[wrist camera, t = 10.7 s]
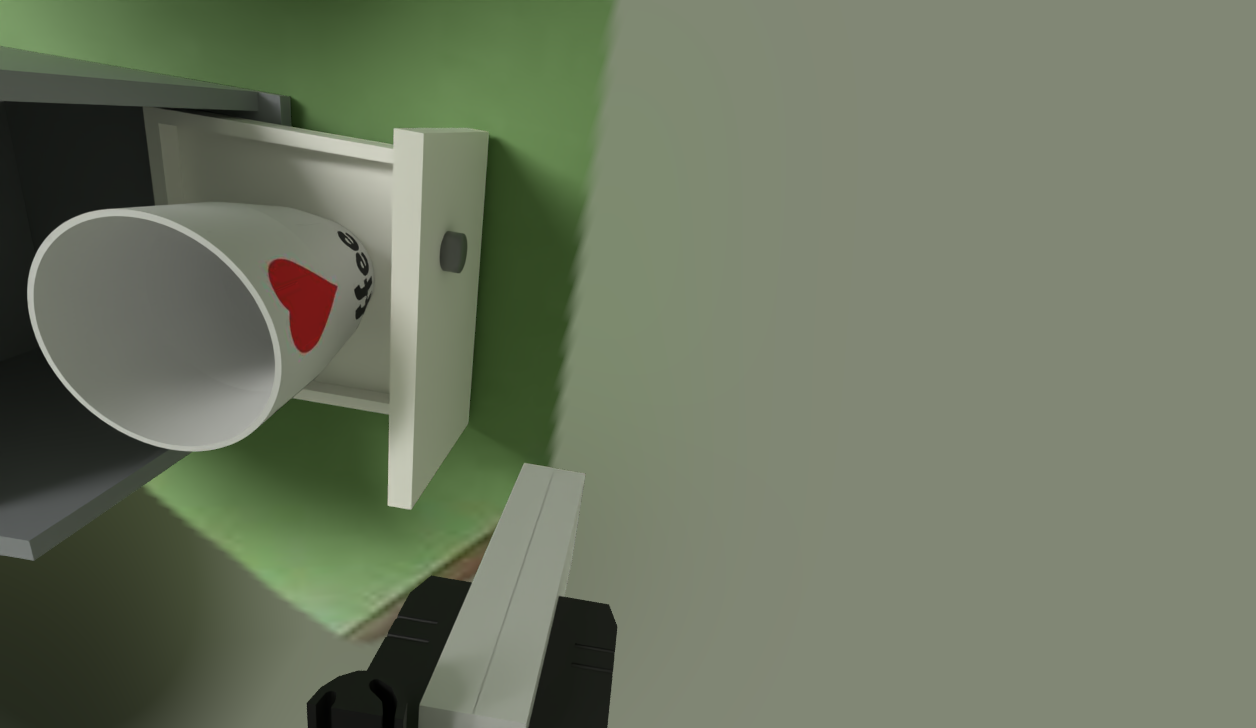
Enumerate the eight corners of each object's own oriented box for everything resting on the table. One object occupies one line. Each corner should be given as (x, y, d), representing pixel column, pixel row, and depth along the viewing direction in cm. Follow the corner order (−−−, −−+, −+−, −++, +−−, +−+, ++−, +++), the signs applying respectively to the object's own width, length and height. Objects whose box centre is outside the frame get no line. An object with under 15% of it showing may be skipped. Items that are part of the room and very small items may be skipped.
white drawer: (215, 379, 33) (83, 454, 25) (185, 78, 27) (5, 60, 20) (479, 425, 33) (425, 512, 25) (502, 133, 27) (441, 136, 20)
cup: (386, 373, 30) (262, 483, 21) (226, 316, 30) (26, 402, 20) (423, 220, 27) (299, 268, 18) (247, 153, 27) (24, 167, 17)
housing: (55, 349, 33) (-388, 510, 19) (-8, 44, 28) (-695, -40, 14) (302, 391, 33) (40, 582, 19) (290, 96, 28) (-91, 65, 14)
